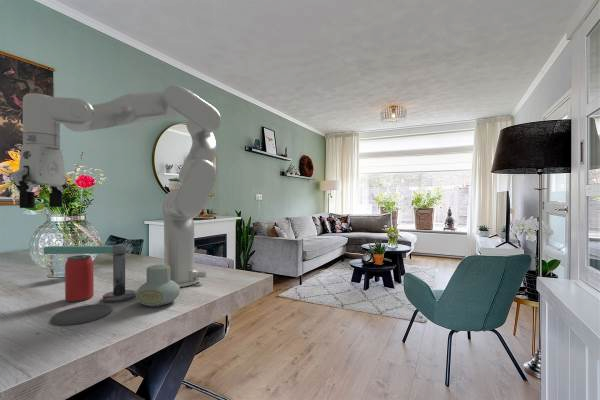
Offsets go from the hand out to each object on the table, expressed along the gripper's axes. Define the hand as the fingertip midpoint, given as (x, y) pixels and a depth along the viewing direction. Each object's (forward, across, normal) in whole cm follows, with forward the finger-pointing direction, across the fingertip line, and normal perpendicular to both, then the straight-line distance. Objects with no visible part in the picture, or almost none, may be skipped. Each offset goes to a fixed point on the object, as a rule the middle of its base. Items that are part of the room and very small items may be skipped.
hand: (42, 207), depth 81 cm
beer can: (+26, +6, -6) cm, 28 cm away
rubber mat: (+26, -7, -15) cm, 31 cm away
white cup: (+27, +31, +12) cm, 42 cm away
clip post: (+26, +6, -17) cm, 32 cm away
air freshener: (+27, +1, -30) cm, 40 cm away
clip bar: (+13, +6, -8) cm, 16 cm away
